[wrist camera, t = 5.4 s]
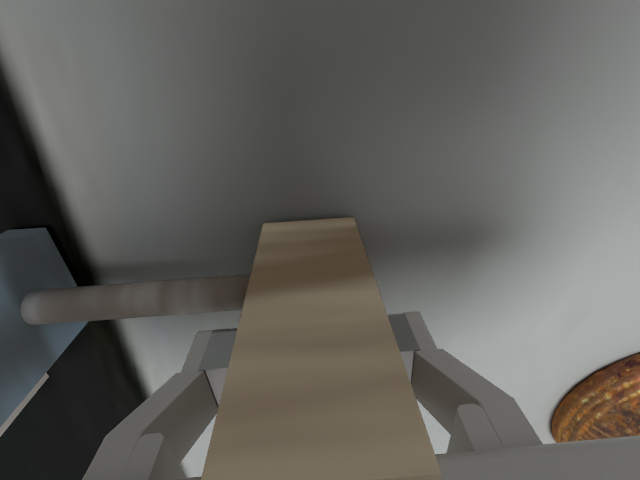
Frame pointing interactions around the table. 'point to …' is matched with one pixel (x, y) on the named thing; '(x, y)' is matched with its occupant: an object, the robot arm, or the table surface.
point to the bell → (589, 412)
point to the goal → (23, 404)
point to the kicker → (249, 352)
